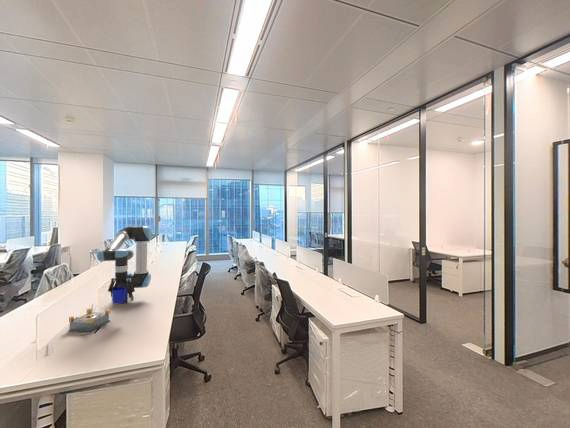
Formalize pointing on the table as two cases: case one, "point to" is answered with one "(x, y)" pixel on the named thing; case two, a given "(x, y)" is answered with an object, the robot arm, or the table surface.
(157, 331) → the table surface
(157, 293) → the table surface
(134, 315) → the table surface
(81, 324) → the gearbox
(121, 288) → the mug
